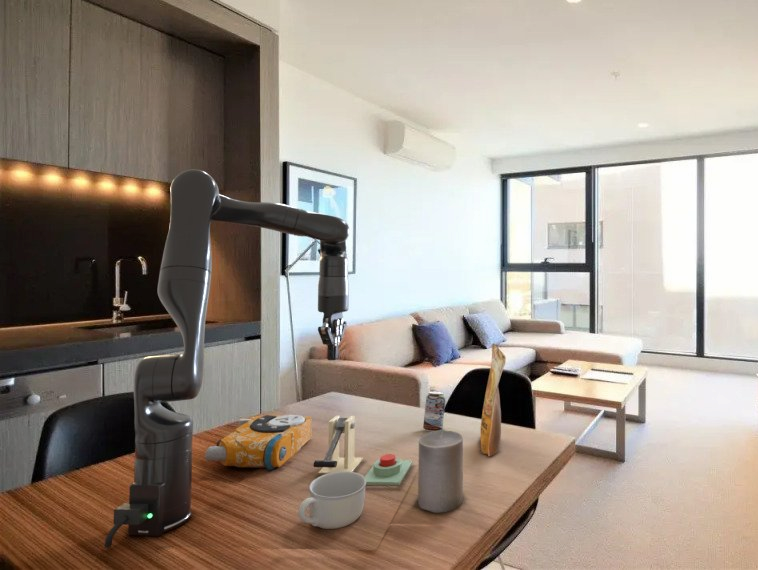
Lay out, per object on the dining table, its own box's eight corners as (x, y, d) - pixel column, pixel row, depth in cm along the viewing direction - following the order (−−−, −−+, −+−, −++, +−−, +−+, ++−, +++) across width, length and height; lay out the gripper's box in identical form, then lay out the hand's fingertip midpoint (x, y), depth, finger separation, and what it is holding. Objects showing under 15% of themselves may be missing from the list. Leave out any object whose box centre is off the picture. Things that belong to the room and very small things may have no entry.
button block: (399, 489, 104) (399, 474, 105) (360, 489, 105) (360, 473, 105) (412, 466, 116) (412, 453, 117) (377, 466, 117) (377, 452, 117)
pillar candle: (457, 488, 105) (458, 422, 106) (466, 509, 96) (467, 437, 96) (415, 494, 102) (416, 427, 103) (420, 517, 93) (421, 442, 94)
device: (184, 443, 111) (252, 405, 141) (183, 477, 111) (252, 432, 141) (277, 442, 111) (326, 405, 141) (277, 476, 111) (325, 432, 141)
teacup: (347, 502, 99) (348, 465, 99) (376, 520, 92) (377, 480, 92) (281, 531, 88) (282, 489, 88) (309, 554, 81) (309, 508, 81)
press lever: (335, 470, 106) (333, 463, 104) (314, 469, 106) (312, 463, 105) (354, 424, 117) (352, 417, 116) (335, 424, 117) (333, 417, 116)
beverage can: (419, 433, 140) (419, 394, 140) (430, 425, 147) (430, 388, 147) (438, 435, 138) (438, 396, 138) (448, 427, 145) (448, 389, 145)
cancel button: (392, 467, 109) (392, 460, 109) (378, 467, 109) (378, 460, 109) (397, 461, 112) (397, 454, 112) (382, 461, 113) (382, 453, 113)
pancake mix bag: (502, 432, 141) (502, 342, 142) (505, 458, 122) (506, 353, 123) (480, 433, 140) (480, 342, 141) (480, 459, 121) (481, 353, 122)
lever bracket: (350, 477, 110) (351, 424, 111) (317, 477, 111) (318, 424, 111) (363, 462, 119) (364, 412, 120) (333, 461, 120) (334, 412, 120)
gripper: (330, 292, 126) (329, 354, 126) (307, 295, 113) (306, 365, 112) (356, 292, 126) (356, 355, 125) (337, 295, 113) (336, 365, 112)
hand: (332, 359), depth 119 cm, fingers closed
